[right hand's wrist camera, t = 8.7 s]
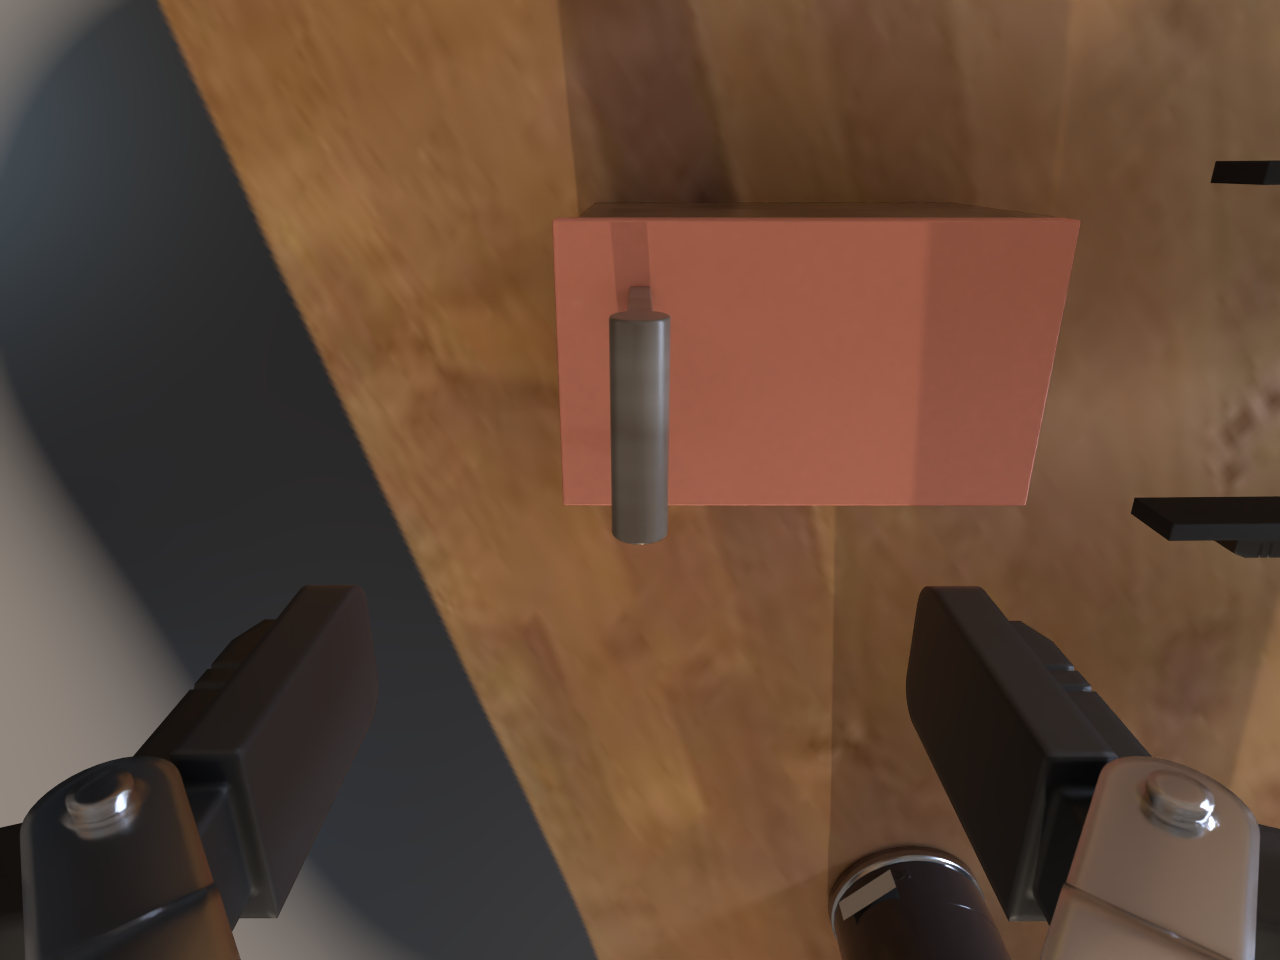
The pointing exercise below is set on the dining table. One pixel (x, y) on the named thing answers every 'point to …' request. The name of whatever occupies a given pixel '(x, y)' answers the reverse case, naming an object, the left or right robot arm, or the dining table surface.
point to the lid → (803, 360)
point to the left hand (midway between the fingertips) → (1189, 359)
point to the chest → (797, 210)
